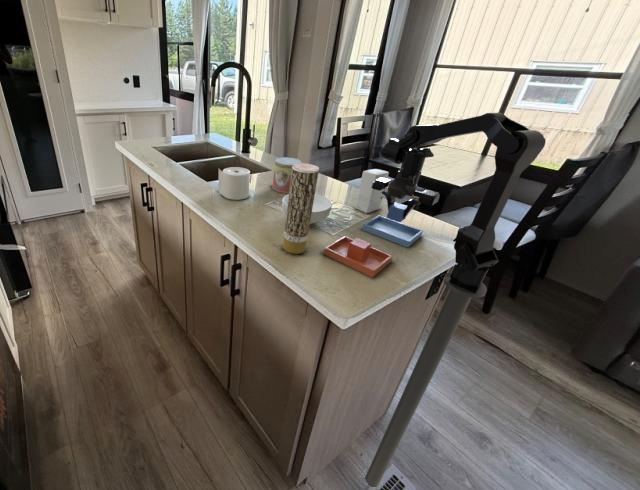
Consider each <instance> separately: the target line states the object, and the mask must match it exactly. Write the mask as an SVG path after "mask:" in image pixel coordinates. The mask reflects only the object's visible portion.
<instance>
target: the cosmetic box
mask: <svg viewBox="0 0 640 490" xmlns="http://www.w3.org/2000/svg"><path fill="white" fill-rule="evenodd" d="M389 174H390V172H389V171H386V170H384V169H383V170H382V169H379V168H372V169H367V170H363V171H362V174H361V179H360V183H359V188H358V192H357V196H356V202H355V206H354V208H355V209H356V210H359V211H361V212H363V213H365V214H369V213H372V212H374V211H379V210H380V209H381V205H382V201H383V197H384V194H382V192H383V189H382V190H380V191H379V190H375V189H372V188H371V187H372V183H373V181H375V180H376V179H379V178H381V177H383V178H386V179H389V178H388V177H389Z"/></svg>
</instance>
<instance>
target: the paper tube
mask: <svg viewBox="0 0 640 490" xmlns="http://www.w3.org/2000/svg"><path fill="white" fill-rule="evenodd" d="M319 169H320V167H319V166H317V165H315V164H312V163H306V162H305V163H304V162H302V163H297V164H294V165H293V167H292V175H291V183H290V191H289V193H288V194H289V199H288V207H287V215H286V214H285V216H286V217H285V223H284V230H283V231H284V232H283V241H282V248H283V250H284V251H285V252H287V253H289V254H292V255H300V254H302V253H304V252H305V251H306V249H307V243H308V239H309V231H310V225H311V224H310V220H311V214H312V208H313V202H314V196H315V194H316V188H317V183H318V178H319V177H318V176H319V171H320V170H319Z"/></svg>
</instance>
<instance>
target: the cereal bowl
mask: <svg viewBox="0 0 640 490" xmlns="http://www.w3.org/2000/svg"><path fill="white" fill-rule="evenodd" d="M288 199H289V193H287V194H286V195H284V196H283V198H282V210H283V213H284V215H285V216H286V215H287V207H288ZM332 206H333V203H332V200H330V199H329V198H328V197H326V196H323V195H321V194H318V193H315V196H314V202H313V208H312V214H311V220H310V225H313V224H318V223H320V222H321V223H322V221H325V220H326V219H327V218H328V217H329V216H330V214H331V211H332V208H333V207H332Z"/></svg>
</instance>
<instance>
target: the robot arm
mask: <svg viewBox="0 0 640 490" xmlns="http://www.w3.org/2000/svg"><path fill="white" fill-rule="evenodd" d="M479 133H484V135H485V136H486V138H487V139H488V141H489V142H490V143H491V144H492V145H494V146H495V147H496V150H495V154H494V163H495V170H494V173H493V174H492V177H491V179H490V182H489V184H488V186H487V188H486V190H485V193H484V195H483V197H482V199H481V202H480V203H479V206H478V209H477V210H476V213H475V214H474V217H473V219H472V222H471V224H469V225H466V226H460V227H459V228H458V230H457V233H456V236H455V238H454V239H453V240H452V242H454V243H453V244H454V245H453V250H454V251H455V260H454V261H455V264H454V266H453V268H452V270H451V272H452V273H451V275H450V277H451V279H450V280H449V282H450V283H452V284H454V285H457V286H459V287H461V288H464V289H466V290H468V291H471V292H473V293H477V291H478V289H479V288H480V286H481V285H482V283H483V281H484V279H485V277H486V275H487V273H488V271H489V270H490V267H493V266H495V265H496V264H497V263H498V262H499V259H498V256H497V254H496V252H495V250H494V245H495V241H496V231H495V228H496V225H497V223H498V221H499V219H500V217H501V215H502V213H503V211H504V209H505V207H506V205H507V203H508V201H509V198H510V197H511V195H512V192H513V191H514V189H515V186H516V185H517V182H518V181H519V178H520V177H521V174H522V173H523V172H524V171H525V170H526V169H527V168H529V166H530V165H531V164H532V163H534V161H535V160H536V159H537V158H538V156H539V155H540V153H541V152H542V151H543V149H544V148H545V145H546V138H545V136H544V134H543V133H542V132H540V131H538V130H536V129H535V130H534V129H529V128H528V127H527V126H525V125H523V124H521V123H519V122H517V121H515V120H513V119H511V118H509V117H508V116H506V115H505V114H503V112H487V113H483V114H481V115H478V116H472V117H468V118H463V119H459V120H455V121H454V120H453V121H449V122H445V123H441V124H421V125H419V124H417V125H412V126H410V127H409V128H408V130H407V132H406V133H405V134H404V135H403V136H402V137H401V138H400V139H397V138H389V139H388V142H387V143H386V144H384V146H383V147H382V149H381V150H380V157H381V158H382V159H383V160H385V161H388V162H391V163H393V164H396V165H400V168H399V170H398V171H397V174H396V176H395V178H394V179H390V178H387V179H386V178H383V177H381V178H379V179H376V180H375V181H373V183H372V187H371V188H372V189H375V190H379V191H380V190H382V189H383V192H382V194H383V196H384V197H385V198H386V202H387V204H386V205H387V211H389V208H390V205H392V204H394V203H395V202H396V199H399V200H403V199H404V198H405V197H407V196H408V197H411V198H410V199H409V200H408V202H407V205H406V206H407V208H406V211H405V213H404V216H403V218H407V216H408V215H409V214H410V213H411V212H412V211H413V209H414V208H415V207H416V206H417V205H421V204H422V205H425V206H428V207H429V206H430V207H433V206H434V205H435V204H437V203H438V202H439V200H440V192H437V191H434V190H430V189H425V190H423V191H420V190H417V188H418V183H419V180H420V177H421V176H422V170H423V168H424V167H423V166H424V163H425V160H426V158H434V157H435V155H434V153H433V152H432V150H431V148H430V147H425V146H431V145H433V144H437V143H439V142H441V141H443V140H445V139H448V138H454V137H460V136H467V135H471V134H472V135H473V134H479ZM419 147H424V148H419Z"/></svg>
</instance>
